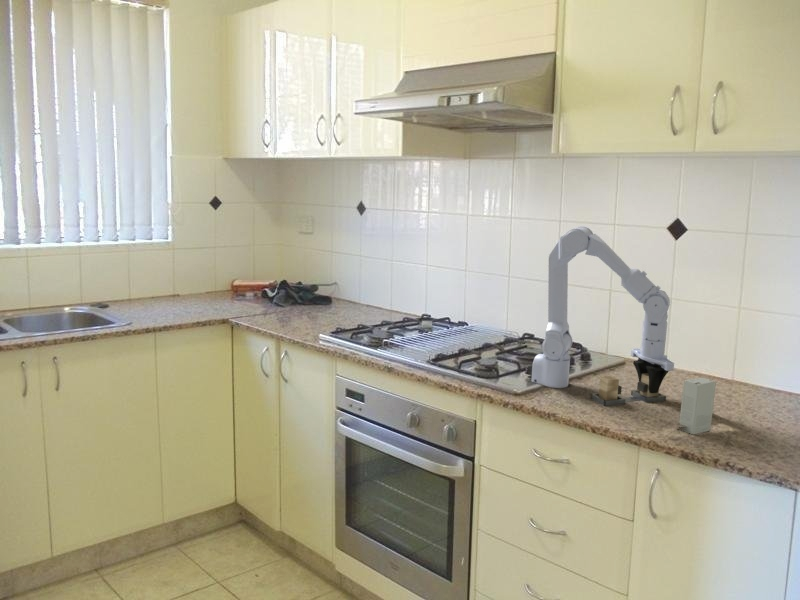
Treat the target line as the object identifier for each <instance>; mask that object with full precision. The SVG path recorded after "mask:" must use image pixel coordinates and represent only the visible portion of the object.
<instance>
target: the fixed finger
mask: <svg viewBox="0 0 800 600" xmlns="http://www.w3.org/2000/svg"><path fill="white" fill-rule="evenodd" d="M619 382H620V380H619V379H618V378H616V377H615V376H612V375H606V376H600V377H599V389H598V390H599V392H598V393H599V397H600V398H602V399H604V400H616V399H617V396H619V395H622V388H623V387H622V386H621V385H619Z"/></svg>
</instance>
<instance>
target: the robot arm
mask: <svg viewBox="0 0 800 600" xmlns="http://www.w3.org/2000/svg"><path fill="white" fill-rule="evenodd" d="M582 252H585V255H588V256H591V257H592V256H593V257H597V258H599V259H600V260H601V261H602V262H603V263H604V264H605V265H606V266H607V267H609V268H610V269H611V270H612V271H613V272H615V274H616V275H618V276H619V277H620V280H621V281H620V282H621V286H622V288H624V290H626V291H627V292H628V293H629V294H630V295H631V297H632V298H634V299H635V300H636V301H637V302H638V303H640V304H642V307H643V310H644V319H643V321H642V334H641V344H640V348H631V352H630V356H631V357H633V358H638V359H637V360H633V361H632V363H633V367H634V368H635V371H636V373H637V378H638V382H641V376H642V374H646V373H648V376H649V393H658V390H659V391H660V388H661V385H662V383H663V380H664V378H665V377H666V376H667V374H668V373H669V372H671V371H674V368H675V362H673V361H671V360H670V359H668V355H666V354H665V352H666V340H667V331H668V316H669V314H668V310H669V307H670V305H671V300H670V297H669V295H668V294H667V292H666V291H664V290H662V289H661V286H659V285H655V284H654V282H653V281H651V280H650V278H648V277H647V275H648V273H647V272H646V271H645V270H642V271H641V270H640V269H638V268H631V267H630V266H629V265H627V264H626V262H625V261H624V260H623V259H622V258H621V257H620V256H619V255H618V254H617V253H616V252H615V251H614V250H613V249H612V248H611V247H610V246H609V245H608V243H606V241H604V240H603V239H602V238H601V237H600V236H599V235H598V234H596V233H593V231H592V230H591V229H590V228H589V227H587V226H578V227H576V228H571V229H569V230H567V231H566V232H565V233H563V234H562V235H561V236H560V237H559V239H558V241H557V243H556V244H555V246H554V247H553V249H552V250H551V252H550V253H549V254H548V255H549V256H548V276H547V277H548V278H547V279H548V287H547V288H548V290H547V291H548V295H547V297H548V298H547V299H548V303H547V305H548V306H547V308H548V310H547V312H548V313H547V316H548V317H547V319H548V320H547V321H548V322H547V325H546V329H545V337H544V340H543V342H541V343H542V344H541V349H542V353H538V354H536V355H535V356H534V359H533V360H532V361H533V362H532V366H531V367H532V368H531V381H530V382H532V383H535V384H539V385H542V386H544V387H548V388H555V389H563V388H567V387H568V386H569V380H570V379H569V378H570V364H571V362H570V361H571V355H570V353H569V350H570V349H571V348H572V345H573V337H572V335H571V333H570V326H569V322H568V296H569V295H568V281H569V279H568V278H569V277H568V275H569V274H568V271H569V270H568V268H569V267H568V266H569V262H570V261H572V260H573V259H574V258H575V257H576V256H577V255H578V254H580V253H582Z"/></svg>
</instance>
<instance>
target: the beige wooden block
mask: <svg viewBox="0 0 800 600" xmlns="http://www.w3.org/2000/svg"><path fill="white" fill-rule="evenodd" d="M636 390H639V391H640V394H641V395H643V396H645V397H652V396H658V395H659V393H660V389H659V390H658V393H649V376H648V373H646V374H642V376H641V382H639V381H637V387H636Z"/></svg>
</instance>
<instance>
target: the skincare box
mask: <svg viewBox="0 0 800 600" xmlns="http://www.w3.org/2000/svg"><path fill="white" fill-rule="evenodd" d="M716 385H717V382H716V381H715V380H713V379H710V378H709V379H708V378H705V377H701V376H700V377H695V378H689V379H684V381H683V387H682V396H681V406H680V411H679V412H680V415H679V420H678V421H679V422H678V423H679V424H680V425H682V426H678V429H679V430H680V431H682V430H683V431H682V432H684V431H686V432H685V433H687V432H688V433H687V434H689V433H690V435H697V434H702V433H707V432H710V431H711V427H712V419H713V410H714V401H715V393H716Z"/></svg>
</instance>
